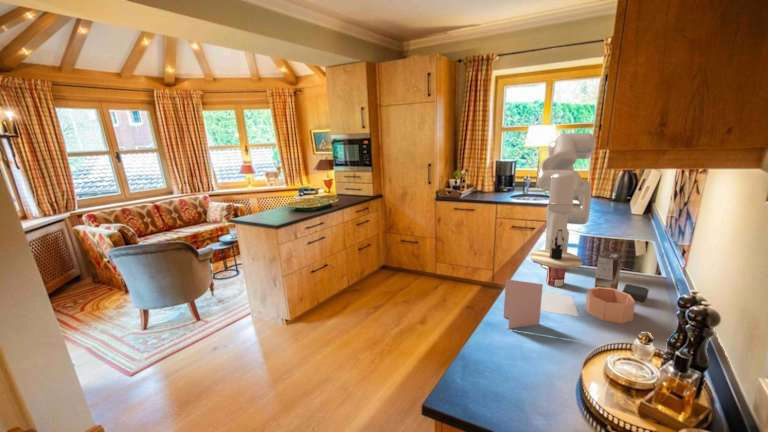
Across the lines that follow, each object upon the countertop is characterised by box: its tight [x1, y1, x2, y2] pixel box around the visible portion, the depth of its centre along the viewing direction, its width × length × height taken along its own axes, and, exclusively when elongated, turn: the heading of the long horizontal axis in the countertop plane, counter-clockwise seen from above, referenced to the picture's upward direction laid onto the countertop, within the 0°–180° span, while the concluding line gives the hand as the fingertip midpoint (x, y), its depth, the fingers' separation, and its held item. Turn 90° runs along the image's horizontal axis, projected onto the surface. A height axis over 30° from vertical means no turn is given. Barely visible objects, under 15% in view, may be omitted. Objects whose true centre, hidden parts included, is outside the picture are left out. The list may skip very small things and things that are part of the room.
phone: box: [622, 283, 649, 303], centre depth 131 cm, size 7×1×15 cm
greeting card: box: [503, 279, 544, 331], centre depth 109 cm, size 11×7×15 cm, turn 66°
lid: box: [529, 243, 583, 270], centre depth 120 cm, size 17×17×6 cm
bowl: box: [585, 287, 636, 324], centre depth 116 cm, size 13×13×7 cm
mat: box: [540, 291, 580, 317], centre depth 125 cm, size 16×16×1 cm
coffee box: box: [593, 250, 623, 290], centre depth 130 cm, size 9×6×16 cm
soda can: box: [545, 267, 566, 288], centre depth 139 cm, size 7×7×12 cm
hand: (555, 256), depth 121 cm, fingers closed on lid, 4 cm apart
